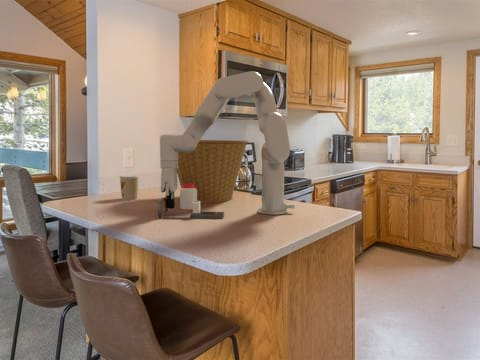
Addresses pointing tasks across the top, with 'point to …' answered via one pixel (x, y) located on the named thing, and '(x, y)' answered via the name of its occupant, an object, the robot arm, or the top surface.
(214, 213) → the board
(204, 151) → the basket
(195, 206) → the fader cap
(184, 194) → the pill bottle
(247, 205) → the top surface
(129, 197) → the coffee cup
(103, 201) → the top surface
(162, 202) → the door
